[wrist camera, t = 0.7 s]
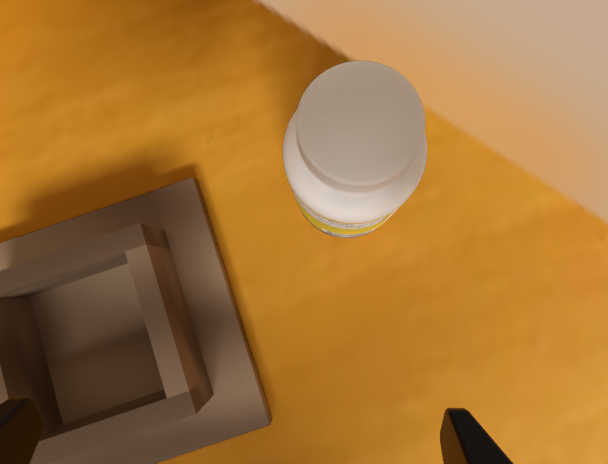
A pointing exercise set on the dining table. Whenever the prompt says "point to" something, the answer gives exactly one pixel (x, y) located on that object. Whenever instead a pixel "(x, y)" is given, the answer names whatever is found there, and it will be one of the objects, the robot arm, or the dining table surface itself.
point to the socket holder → (127, 333)
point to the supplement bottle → (355, 147)
